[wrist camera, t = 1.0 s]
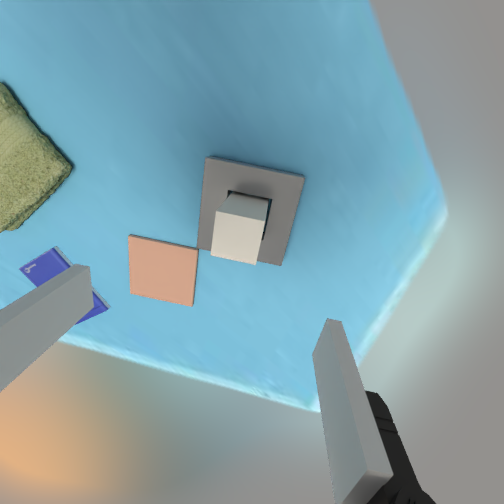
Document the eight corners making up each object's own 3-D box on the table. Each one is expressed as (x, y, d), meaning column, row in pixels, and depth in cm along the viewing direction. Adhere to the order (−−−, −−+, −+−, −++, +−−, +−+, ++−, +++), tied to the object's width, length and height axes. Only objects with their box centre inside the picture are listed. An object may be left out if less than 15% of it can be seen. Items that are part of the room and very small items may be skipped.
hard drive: (17, 269, 38) (73, 325, 43) (50, 248, 36) (106, 310, 40) (26, 264, 40) (80, 319, 44) (59, 244, 38) (112, 304, 42)
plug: (234, 189, 31) (215, 211, 22) (269, 197, 31) (265, 221, 22) (229, 222, 33) (210, 255, 24) (262, 229, 33) (255, 264, 24)
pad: (130, 234, 35) (128, 235, 34) (198, 248, 35) (197, 250, 34) (132, 291, 39) (130, 293, 39) (193, 304, 39) (192, 306, 39)
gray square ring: (210, 155, 29) (205, 157, 27) (303, 175, 29) (305, 178, 27) (202, 240, 34) (196, 248, 32) (281, 257, 34) (281, 266, 32)
